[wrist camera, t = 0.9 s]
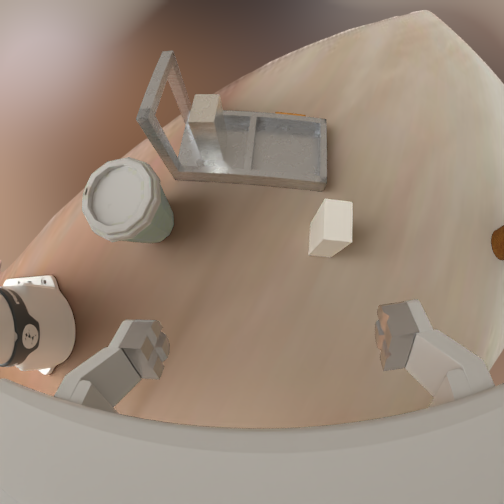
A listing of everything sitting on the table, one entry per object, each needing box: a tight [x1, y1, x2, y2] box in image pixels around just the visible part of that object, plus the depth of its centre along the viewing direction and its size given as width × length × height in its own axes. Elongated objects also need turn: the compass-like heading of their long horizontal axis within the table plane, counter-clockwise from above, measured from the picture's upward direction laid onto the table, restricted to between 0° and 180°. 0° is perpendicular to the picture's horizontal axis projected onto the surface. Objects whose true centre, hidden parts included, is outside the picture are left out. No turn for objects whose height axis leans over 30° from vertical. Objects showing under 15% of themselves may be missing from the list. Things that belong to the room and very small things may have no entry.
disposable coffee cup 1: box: [82, 157, 174, 243], centre depth 38 cm, size 11×11×15 cm
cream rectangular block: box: [308, 199, 353, 257], centre depth 39 cm, size 4×5×11 cm
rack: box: [136, 51, 327, 192], centre depth 39 cm, size 24×12×18 cm, turn 84°
